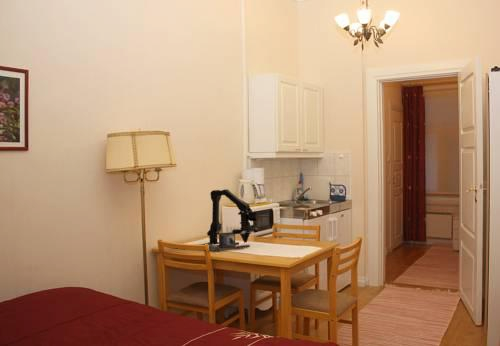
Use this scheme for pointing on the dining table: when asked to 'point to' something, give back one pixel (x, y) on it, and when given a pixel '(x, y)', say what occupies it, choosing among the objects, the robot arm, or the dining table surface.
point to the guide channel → (217, 248)
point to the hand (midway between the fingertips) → (245, 242)
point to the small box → (226, 240)
